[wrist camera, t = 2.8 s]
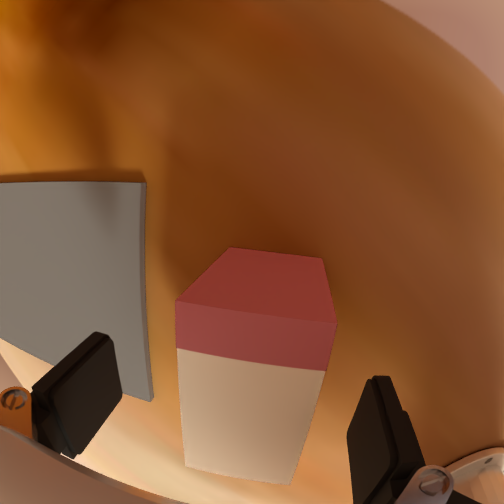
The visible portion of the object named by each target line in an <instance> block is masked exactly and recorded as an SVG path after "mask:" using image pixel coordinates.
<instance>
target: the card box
mask: <svg viewBox="0 0 504 504" xmlns="http://www.w3.org/2000/svg"><path fill="white" fill-rule="evenodd" d="M175 327H176V348H177V357H178V379H179V397H180V411H181V424H182V436H183V446H184V456H185V465H186V467H190V468H194V469H198V470H202V471H206V472H210V473H215V474H219V475H224V476H229V477H235V478H240V479H246V480H252V481H259V482H267V483H275V484H284V485H290V484H291V481H292V478H293V475H294V473H295V470H296V467H297V464H298V461H299V458H300V455H301V452H302V449H303V446H304V443H305V440H306V437H307V434H308V431H309V427H310V424H311V421H312V417H313V414H314V411H315V407H316V404H317V400H318V397H319V393H320V389H321V386H322V382H323V378H324V374H325V371H326V370H327V366H328V362H329V358H330V354H331V350H332V346H333V341H334V337H335V333H336V328H337V319H336V315H335V310H334V306H333V301H332V297H331V293H330V289H329V284H328V280H327V276H326V272H325V268H324V264H323V260H322V258H316V257H308V256H300V255H292V254H284V253H275V252H267V251H259V250H251V249H242V248H234V247H229V248H228V249H227V250H226V251H225V252H224V253H223V254H222V255H221V256H220V257H219V258H218V259H217V260H216V261H215V262H214V263H213V264H212V265H211V266H210V267H209V268H208V269H207V270H206V271H205V272H204V273H203V274H202V275H201V276H200V277H199V278H198V279H197V280H195V281H194V282H193V283H192V284H191V285H190V286H189V287H188V288H187V289H186V290H185V291H184V292H183V293H182V294H181V295H180V296H179V297H178V298H177V299H176V300H175Z"/></svg>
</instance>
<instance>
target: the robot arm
mask: <svg viewBox="0 0 504 504" xmlns="http://www.w3.org/2000/svg"><path fill="white" fill-rule="evenodd" d="M32 390H33V391H32V392H31V393H29V391H28V390H26V389H25V388H22V387H10V388H8V389H5V390H4V391H2V392H1V393H0V504H188V503H184V502H180V501H177V500H173V499H169V498H166V497H163V496H159V495H156V494H153V493H150V492H147V491H144V490H141V489H138V488H135V487H133V486H130V485H127V484H125V483H122V482H119V481H117V480H114V479H112V478H109V477H107V476H105V475H102V474H100V473H98V472H95V471H93V470H91V469H89V468H87V467H85V466H82V465H80V464H78V463H76V462H74V461H72V460H70V459H68V458H66V457H64V456H62V455H60V454H61V452H62V454H64V455H65V456H67V457H69V458H71V459H74V458H75V457H76V455H77V454H81V453H82V452H83V451H84V449H85V448H86V447H87V445H88V444H89V442H90V441H91V440H92V438H93V437H94V436H95V434H96V433H97V431H98V430H99V429H100V427H101V426H102V425H103V423H104V422H105V420H106V419H107V418H108V416H109V415H110V414H111V412H112V411H113V410H114V408H115V407H116V405H117V404H118V403H119V401H120V400H121V398H122V393H123V392H122V387H121V382H120V376H119V371H118V366H117V360H116V354H115V348H114V342H113V340H112V339H111V338H110V336H109V335H108V334H104V333H101V332H97V331H95V332H93V333H92V334H91V335H90V336H88V337H87V338H86V339H85V340H84V341H83V342H81V343H80V344H79V345H78V346H77V347H76V348H75V349H73V350H72V351H71V352H70V353H69V354H68V355H67V356H65V357H64V358H63V359H62V360H61V361H60V362H59V363H58V364H56V365H55V366H54V367H53V368H52V369H51V370H50V371H49V372H48V373H46V374H45V375H44V376H43V377H42V378H41V379H40V380H39V381H38V382H37V383H35V384H34V385H33V386H32ZM347 445H348V454H349V463H350V472H351V482H352V493H353V504H504V448H503V447H495V448H490V449H486V450H483V451H480V452H477V453H474V454H472V455H469V456H467V457H465V458H463V459H461V460H459V461H457V462H454V463H453V464H451V465H449V466H447V467H445V468H443V467H441V466H437V465H428V466H426V465H425V461H424V458H423V455H422V452H421V449H420V446H419V443H418V440H417V438H416V435H415V432H414V429H413V426H412V423H411V421H410V418H409V415H408V413H407V412H406V411H403V410H402V407H401V405H400V402H399V399H398V396H397V394H396V391H395V388H394V386H393V383H392V381H391V378H390V376H373V377H372V379H368V380H367V382H366V384H365V387H364V390H363V393H362V395H361V398H360V401H359V403H358V406H357V408H356V411H355V413H354V416H353V418H352V421H351V423H350V426H349V428H348V431H347Z"/></svg>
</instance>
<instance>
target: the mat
mask: <svg viewBox="0 0 504 504" xmlns="http://www.w3.org/2000/svg"><path fill="white" fill-rule="evenodd" d="M145 204H146V183H140V182H101V181H48V182H13V183H0V338H1V339H3V340H5V341H7V342H8V343H10V344H12V345H14V346H16V347H17V348H19V349H21V350H23V351H25V352H27V353H29V354H31V355H33V356H35V357H37V358H39V359H41V360H43V361H45V362H47V363H49V364H51V365H54V366H55V365H56V364H58V363H59V362H60V361H61V360H62V359H63V358H64V357H65V356H67V355H68V354H69V353H70V352H71V351H72V350H73V349H75V348H76V347H77V346H78V345H79V344H80V343H81V342H83V341H84V340H85V339H86V338H87V337H88V336H90V335H91V334H92V333H93V332H95V331H97V332H101V333H104V334H108V335H109V336H110V338H111V339H112V340H113V342H114V348H115V354H116V360H117V366H118V371H119V376H120V382H121V387H122V392H123V393H124V394H127V395H130V396H133V397H136V398H139V399H142V400H145V401H148V402H151V401H152V399H153V398H154V393H153V385H152V376H151V366H150V356H149V344H148V331H147V315H146V293H145Z"/></svg>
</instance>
